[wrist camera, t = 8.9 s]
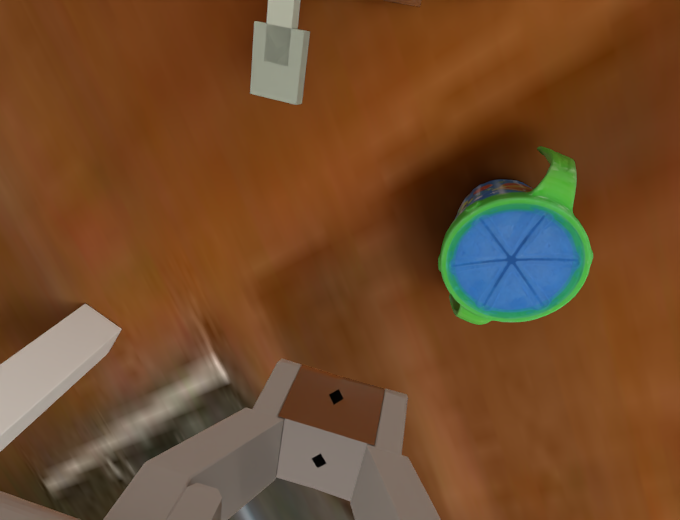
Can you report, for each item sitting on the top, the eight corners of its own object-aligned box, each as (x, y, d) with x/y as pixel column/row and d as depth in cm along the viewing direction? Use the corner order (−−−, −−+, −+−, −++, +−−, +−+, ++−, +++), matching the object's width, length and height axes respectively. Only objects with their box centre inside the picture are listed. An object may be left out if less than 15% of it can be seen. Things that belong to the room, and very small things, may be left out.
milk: (73, 328, 61) (-100, 458, 42) (86, 302, 58) (-95, 429, 39) (109, 353, 62) (-45, 493, 43) (123, 328, 59) (-36, 467, 40)
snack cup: (496, 301, 45) (508, 365, 36) (408, 252, 44) (397, 304, 35) (608, 173, 37) (658, 214, 28) (502, 112, 37) (519, 135, 28)
